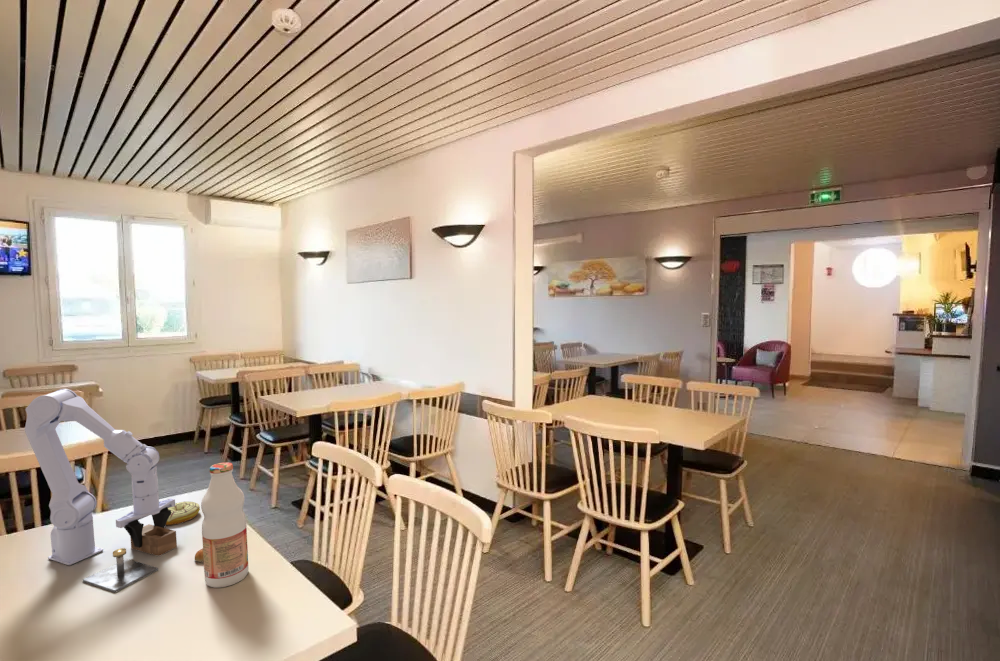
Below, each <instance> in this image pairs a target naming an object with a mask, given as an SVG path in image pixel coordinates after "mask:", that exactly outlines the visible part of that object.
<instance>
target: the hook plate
mask: <svg viewBox="0 0 1000 661" xmlns="http://www.w3.org/2000/svg"><path fill="white" fill-rule="evenodd" d="M126 554H127V548H125V547H122V548H121V547H120V548H117V549H115V550H114V551H112V557H113V558H116V561H115V562H116V563H114V564H112V565H110V566H108V567H106V568H104V569H102V570H100V571H98V572H95V573H93V574H90V575H89V576H88V577H85V578H82V583H86V584H87V585H91V586H93V587H97V588H99V589H102V590H105V591H109V592H111V593H117V592H119V591H121V590H123V589H124V588H127V587H128V586H130V585H132V584H134V583H137V582H138V581H140V580H143V579H144V578H146V577H148V576H149V575H152V574H153V573H156V572H157V571H159V568H158V567H156V566H153V565H150V564H145V563H143V562H140V561H136V560H133V559H129V558H125V557H124V556H125V555H126Z"/></svg>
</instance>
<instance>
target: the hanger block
mask: <svg viewBox="0 0 1000 661" xmlns="http://www.w3.org/2000/svg"><path fill="white" fill-rule="evenodd" d="M129 537H130V536H129ZM177 547H178V542H177V530H173V529H170V528H166V527H165V528H162V527H158V526H154V524H150V523H149V524H146V525H143V530H142V547H140V548H138V547H135V546H134V543H133V541H132V538H131V537H130V549H131V550H135V551H139V552H142V553H147V554H149V555H152V556H156V557H160V556H162V555H164V554H166V553H168V552H170V551H172V550H174V549H177Z"/></svg>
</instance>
